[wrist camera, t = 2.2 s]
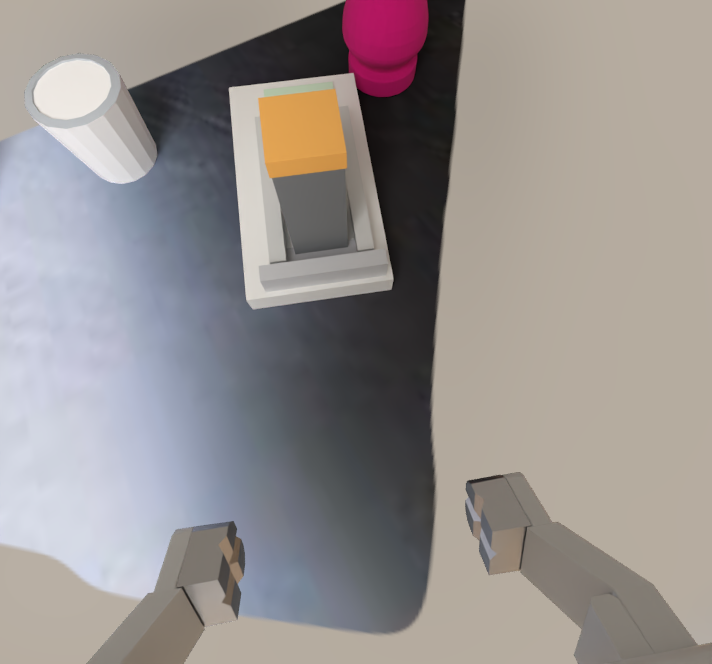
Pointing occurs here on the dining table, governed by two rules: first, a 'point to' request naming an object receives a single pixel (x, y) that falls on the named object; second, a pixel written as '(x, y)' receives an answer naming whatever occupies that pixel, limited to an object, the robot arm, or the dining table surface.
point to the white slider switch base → (266, 221)
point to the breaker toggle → (307, 166)
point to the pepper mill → (384, 43)
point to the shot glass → (92, 116)
